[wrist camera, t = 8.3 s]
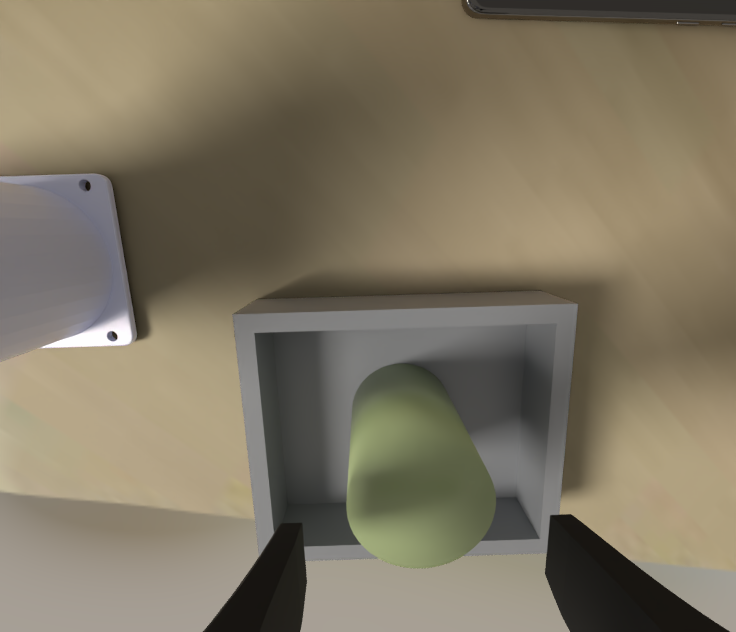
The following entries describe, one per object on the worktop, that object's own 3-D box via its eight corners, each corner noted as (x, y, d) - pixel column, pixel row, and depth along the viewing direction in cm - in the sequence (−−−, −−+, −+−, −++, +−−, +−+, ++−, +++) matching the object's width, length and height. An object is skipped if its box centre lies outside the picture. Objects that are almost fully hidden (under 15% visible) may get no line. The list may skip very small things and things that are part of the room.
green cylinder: (355, 456, 20) (351, 572, 13) (349, 366, 19) (341, 443, 12) (450, 451, 20) (494, 564, 13) (449, 360, 19) (498, 434, 12)
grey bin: (276, 509, 22) (259, 562, 18) (256, 299, 19) (232, 314, 16) (525, 501, 22) (555, 552, 18) (539, 290, 19) (578, 303, 16)
